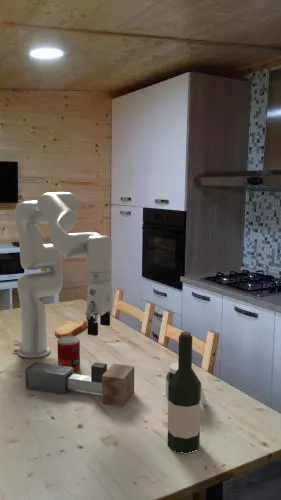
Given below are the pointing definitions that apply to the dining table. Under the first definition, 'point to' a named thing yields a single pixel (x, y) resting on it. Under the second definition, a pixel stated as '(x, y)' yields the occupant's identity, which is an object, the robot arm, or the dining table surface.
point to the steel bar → (87, 379)
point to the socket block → (118, 385)
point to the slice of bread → (69, 328)
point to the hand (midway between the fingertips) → (99, 330)
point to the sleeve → (47, 377)
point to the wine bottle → (184, 401)
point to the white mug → (170, 375)
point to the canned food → (69, 352)
